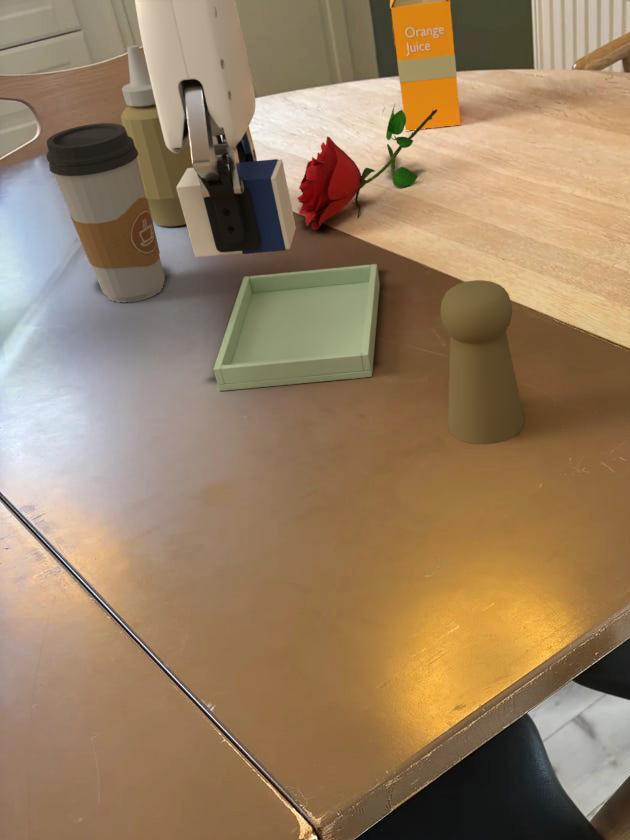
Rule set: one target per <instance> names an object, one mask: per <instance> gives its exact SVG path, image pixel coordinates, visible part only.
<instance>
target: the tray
mask: <svg viewBox="0 0 630 840" xmlns="http://www.w3.org/2000/svg"><path fill="white" fill-rule="evenodd" d="M380 287H381V283H380V276H379V269H378V264H377V263H373V264H363V265H352V266H342V267H331V268H321V269H311V270H302V271H301V270H300V271H290V272H281V273H280V272H279V273H270V274H260V275H247V276H243V279H242V281H241V284H240V287H239V291H238V294H237V297H236V299H235V302H234V306H233V309H232V312H231V315H230V318H229V321H228V324H227V327H226V330H225V332H224V336H223V338H222V343H221V345H220V348H219V351H218V354H217V356H216V357H217V358H216V360H215V363H214V367H213V373H214V376H215V380H216V384H217V387H218V390H219V392H224V391H225V392H226V391H236V390H246V389H257V388H269V387H280V386H288V385H300V384H310V383H311V384H312V383H320V382H321V383H322V382H332V381H341V380H342V381H343V380H353V379H364V378H373V370H374V358H375V346H376V334H377V323H378V312H379V311H378V310H379V301H380V300H379V299H380V298H379V297H380Z"/></svg>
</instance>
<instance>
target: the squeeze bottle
mask: <svg viewBox="0 0 630 840" xmlns="http://www.w3.org/2000/svg"><path fill="white" fill-rule="evenodd" d="M139 46H140V45H137V44H134V45H129V46H127V47H126V49H127V60H128V61H127V62H128V72H129V73H128V75H129V83H127V84H124V85H123V86H122V87H121V91H122V94H123V98H124V102H125V104H126V105H127V107H125V108H124V110H123V111H122V113H121V115H120V119H121V125H122V126H124V127H125V129H126V132H127V134H128V136H129V137H131V138H132V139H133V141H134V146H135V147H136V149H137V151H138V156H137V160H138V164H139V168H140V173H141V177H142V181H143V186H144V190H145V195H146V198H147V199H148V203H149V208H150V212H151V217H152V221H153V223H155V224H156V225H158V226H161V227H178V226H179V227H180V226H184V225H186V221H185V217H184V214H183V210H182V206H181V203H180V199H179V195H178V192H177V185H178V184H179V182H180V180H181V178H182V177H183V175H184V173H185V172H186V170H187V169H188V168H193V164H192V157H191V149H190V140H188V142H187V143H186V145H185V146H184V148H183V149H182V151H181V152H180V153H173V152H171V151H170V150H169V149H168V148H167V146H166V144H165V141H164V137H163V133H162V129H161V125H160V120H159V116H158V112H157V107H156V103H155V99H154V94H153V90H152V85H151V81H150V77H149V72H148V68H147V63H146V59H145V56H144V54H143V53H142V51H141V48H140V47H139Z"/></svg>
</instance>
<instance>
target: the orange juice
mask: <svg viewBox="0 0 630 840" xmlns="http://www.w3.org/2000/svg"><path fill="white" fill-rule="evenodd" d="M451 4H452V3H451V0H389V9H391V11H390V12H391V23H392V26H391V27H392V29H393V39H394V41H393V42H394V45H395V51H396V53H395V54H396V62H397V70H398V71H397V72H398V79H399V85H400V92H401V93H400V94H401V101H402V110H403V112H404V114H405V116H406V124H405V126H404V128H405V131H406V130H414V131H415V129H417V128H418V127H419V126H420V125H421V124H422V123H423V122H424V120H425V119H426V118H427V117H428V116H429V115H430V114H431V113H432V111H434V110H436V109H437V112H436V113H435V114H434V115H433V116H432V119H429V120H428V122H427V123H426V124H425V125H424V126H423V127H422V128H421V129H423V130H425V129H424V128H432V129H434V128H433V127H442V128H444V127H443V126H451V127H453V126H452V125H461V112H460V101H459V91H458V80H457V79H458V78H457V64H456V63H457V62H456V54H455V42H454V39H455V38H454V30H453V26H454V25H453V24H454V23H453V19H452V11H451V9H452V8H451Z"/></svg>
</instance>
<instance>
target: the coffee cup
mask: <svg viewBox="0 0 630 840" xmlns="http://www.w3.org/2000/svg"><path fill="white" fill-rule="evenodd" d="M46 146H47V150H48V151H47V153H46V160H47V162H48V166H49V171H50V172H51V173H52V174H53V177H54V178H55V181H56V183H57V186H58V189H59V191H60V193H61V195H62V198H63V201H64V203H65V204H66V208H67V210H68V212H69V216H70V219H71V222H72V224H73V226H74V228H75V231H76V234H77V236H78V239H79V241H80V243H81V245H82V248H83V250H84V252H85V255H86V257H87V260H88V263H89V264H90V265H91V267H92V269H93V272H94V274H95V277H96V279H97V282H98V284H99V287H100V289H101V292H102V294H104V295H105V296H106V297H107V299H108V300H109V301H111V300H112V302H114V301H116V302H115V303H120V302H122V304H123V302H124V303H126V302H128V303H135V302H136V303H137V302H140V301H144V300H147V299H150V298H152V297H154V296H156V295H157V293H158V294H159V293H161V292H162V290H163V289H164V287H163V285H164V283H165V281H166V278H165V273H164V269H163V265H162V260H161V256H160V247H159V243H158V239H157V235H156V229H155V226H154V220H153V219H152V217H151V212H150V208H149V203H148V199H147V198H146V195H145V190H144V186H143V181H142V177H141V173H140V168H139V164H138V160H137V156H138V151H137V149H136V147H135V146H134V141H133V139H132V138H131V137H129V136H128V134H127V132H126V129H125V127H124V126H123V125H122V124H119V123H113V122H112V123H111V122H102V123H90V124H85V125H79V126H75V127H71V128H68V129H64V130H61V131H59V132H57V133H55V134H53V135H51V136H50V137H49V138H48V139H47V140H46ZM162 288H163V289H162ZM161 289H162V290H161Z"/></svg>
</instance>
